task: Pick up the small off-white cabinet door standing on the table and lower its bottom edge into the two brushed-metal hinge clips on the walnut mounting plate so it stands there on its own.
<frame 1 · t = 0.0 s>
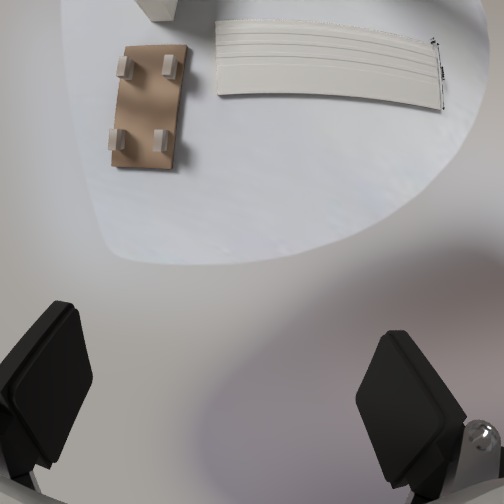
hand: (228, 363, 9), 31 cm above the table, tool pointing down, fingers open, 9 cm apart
hinge mount: (148, 105, 33), on the table
baseboard molding: (337, 55, 33), on the table
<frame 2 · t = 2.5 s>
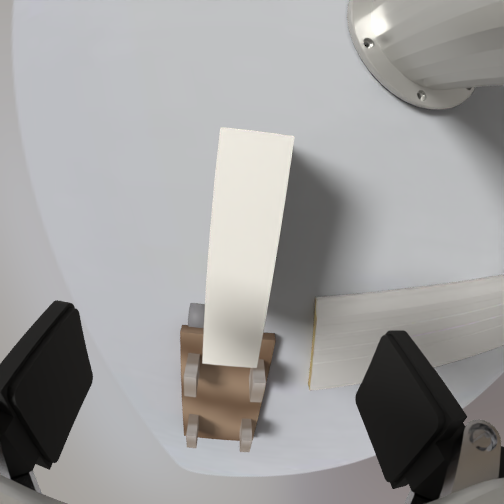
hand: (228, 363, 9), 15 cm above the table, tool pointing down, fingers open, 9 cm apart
cabinet door: (240, 215, 22), on the table
hinge mount: (222, 391, 29), on the table
baseboard molding: (446, 315, 27), on the table
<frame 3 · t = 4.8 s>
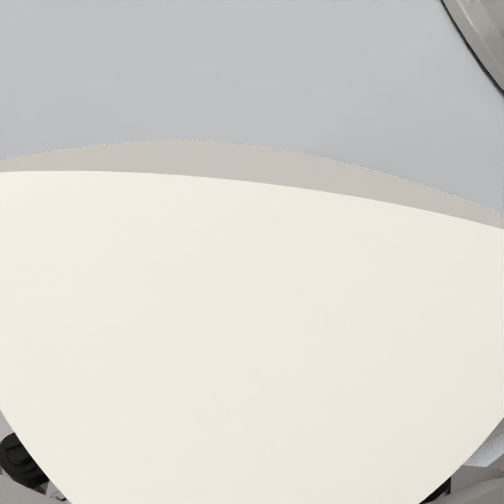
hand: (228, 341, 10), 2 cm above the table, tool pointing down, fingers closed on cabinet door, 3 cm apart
cabinet door: (229, 313, 11), on the table, touching gripper
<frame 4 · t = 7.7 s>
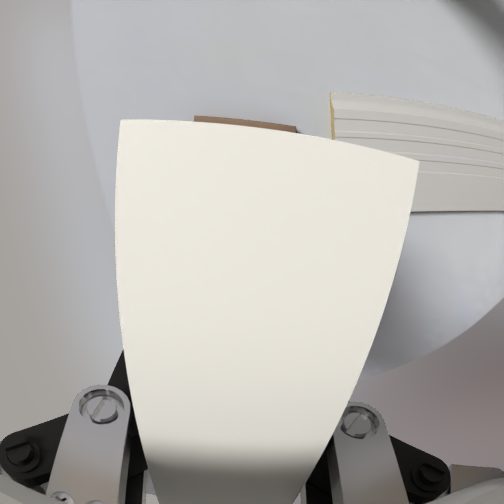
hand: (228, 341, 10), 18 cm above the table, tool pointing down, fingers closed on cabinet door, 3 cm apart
cabinet door: (230, 289, 13), point 14 cm above the table, touching gripper
hinge mount: (234, 214, 26), on the table
baseboard molding: (462, 152, 25), on the table
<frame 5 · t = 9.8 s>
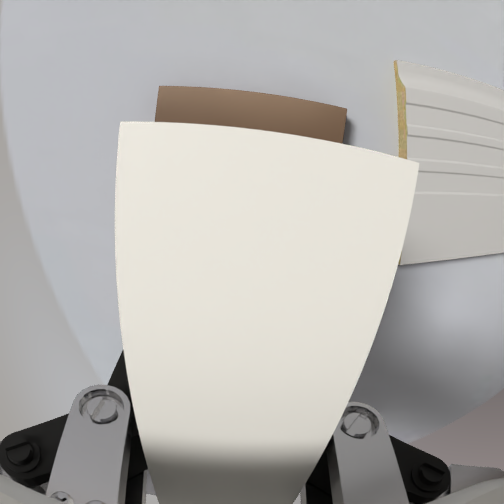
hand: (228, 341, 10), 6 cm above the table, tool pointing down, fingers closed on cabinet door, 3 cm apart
cabinet door: (230, 289, 13), point 2 cm above the table, touching gripper
hinge mount: (233, 263, 15), on the table
when the fingers open (4 cm above the table, at t = 11.0 s): cabinet door stays where it is, resting on hinge mount.
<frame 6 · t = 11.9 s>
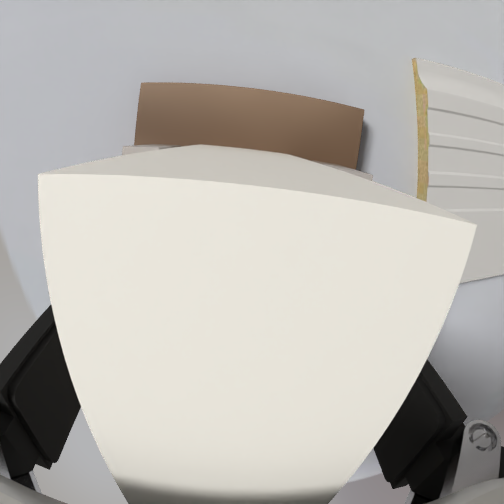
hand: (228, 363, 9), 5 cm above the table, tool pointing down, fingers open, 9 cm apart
cabinet door: (226, 303, 12), point 1 cm above the table, touching hinge mount
hinge mount: (230, 288, 13), on the table
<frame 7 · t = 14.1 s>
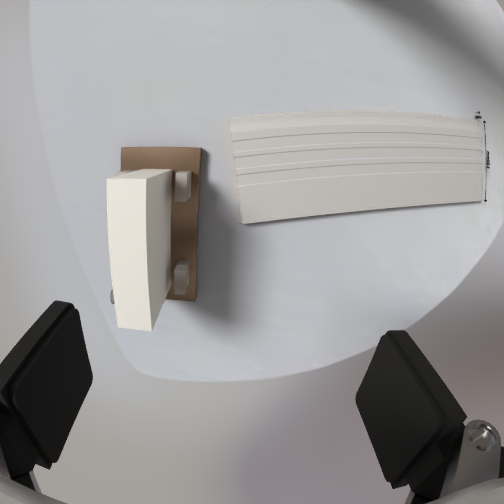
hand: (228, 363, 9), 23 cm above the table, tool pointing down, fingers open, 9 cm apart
cabinet door: (156, 228, 30), point 1 cm above the table, touching hinge mount
hinge mount: (159, 224, 31), on the table
baseboard molding: (377, 152, 30), on the table
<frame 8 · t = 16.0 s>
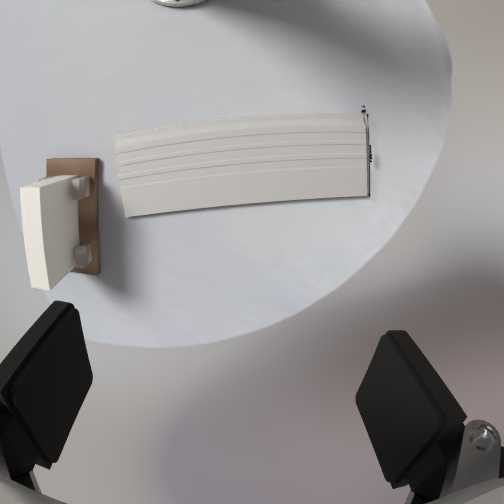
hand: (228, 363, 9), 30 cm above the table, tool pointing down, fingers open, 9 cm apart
cabinet door: (69, 219, 36), point 1 cm above the table, touching hinge mount
hinge mount: (73, 216, 37), on the table
baseboard molding: (242, 153, 36), on the table
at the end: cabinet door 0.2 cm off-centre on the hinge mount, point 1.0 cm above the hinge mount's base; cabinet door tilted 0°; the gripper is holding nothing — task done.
